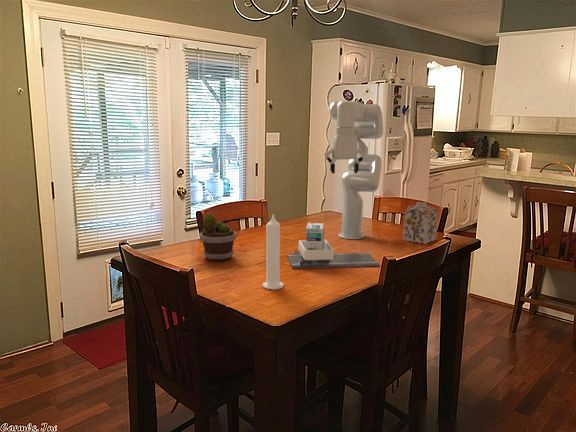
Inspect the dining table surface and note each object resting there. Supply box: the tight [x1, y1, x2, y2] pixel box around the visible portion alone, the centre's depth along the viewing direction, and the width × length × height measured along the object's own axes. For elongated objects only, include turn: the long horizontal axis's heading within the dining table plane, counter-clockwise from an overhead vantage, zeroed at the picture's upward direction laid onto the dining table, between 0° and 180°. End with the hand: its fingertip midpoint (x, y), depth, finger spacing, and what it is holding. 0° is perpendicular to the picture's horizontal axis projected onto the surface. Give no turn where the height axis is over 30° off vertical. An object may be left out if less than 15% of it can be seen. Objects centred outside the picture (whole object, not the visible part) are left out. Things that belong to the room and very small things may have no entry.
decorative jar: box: [402, 201, 438, 245], centre depth 225 cm, size 12×12×18 cm
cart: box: [298, 239, 334, 264], centre depth 191 cm, size 15×11×6 cm
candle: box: [262, 213, 284, 291], centre depth 162 cm, size 7×7×25 cm
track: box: [286, 249, 380, 270], centre depth 192 cm, size 16×34×3 cm, turn 97°
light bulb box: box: [305, 222, 325, 250], centre depth 190 cm, size 11×7×11 cm, turn 174°
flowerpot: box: [199, 210, 238, 262], centre depth 194 cm, size 14×15×20 cm
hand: (344, 173), depth 203 cm, fingers open, 9 cm apart
